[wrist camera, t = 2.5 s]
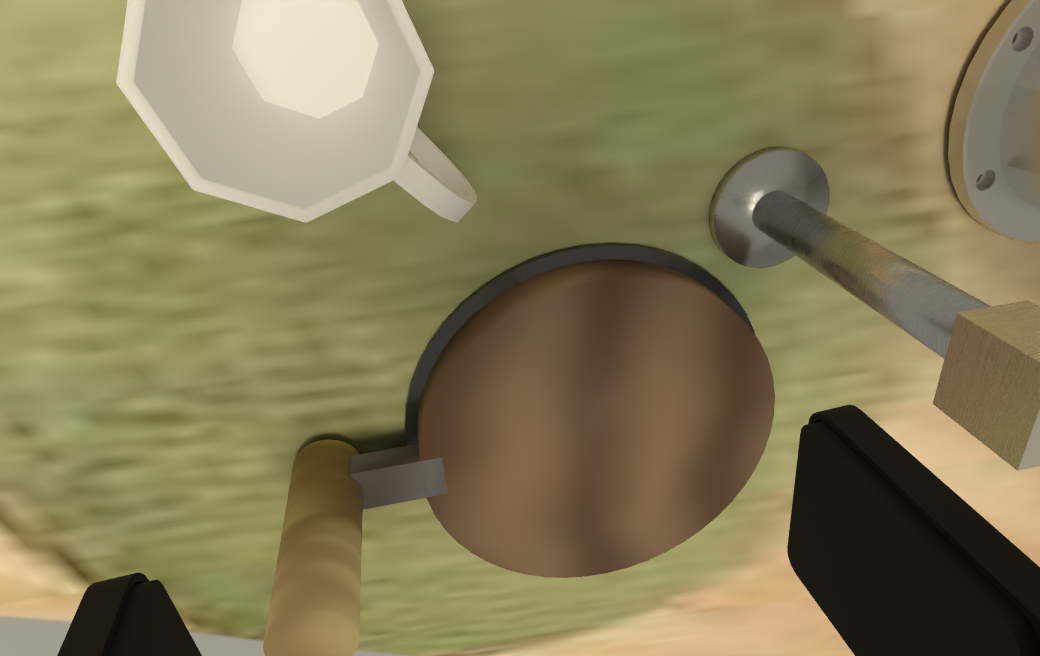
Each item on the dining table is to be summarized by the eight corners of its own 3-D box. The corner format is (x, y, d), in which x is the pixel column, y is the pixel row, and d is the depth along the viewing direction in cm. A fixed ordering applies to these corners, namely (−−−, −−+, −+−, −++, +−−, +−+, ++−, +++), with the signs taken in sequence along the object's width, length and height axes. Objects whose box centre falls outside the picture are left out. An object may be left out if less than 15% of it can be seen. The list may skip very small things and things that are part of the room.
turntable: (769, 233, 28) (917, 335, 21) (739, 513, 36) (838, 664, 28) (243, 312, 26) (186, 463, 18) (333, 596, 34) (319, 787, 26)
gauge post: (712, 155, 27) (1027, 333, 14) (828, 139, 28) (1233, 296, 15) (706, 270, 29) (968, 512, 16) (812, 253, 30) (1147, 474, 17)
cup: (283, -139, 20) (233, -195, 13) (520, 98, 25) (578, 151, 18) (150, 47, 22) (42, 86, 15) (395, 238, 26) (403, 338, 19)
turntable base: (372, 276, 27) (372, 279, 26) (775, 216, 29) (779, 219, 28) (433, 575, 35) (434, 579, 35) (743, 512, 37) (745, 516, 37)
